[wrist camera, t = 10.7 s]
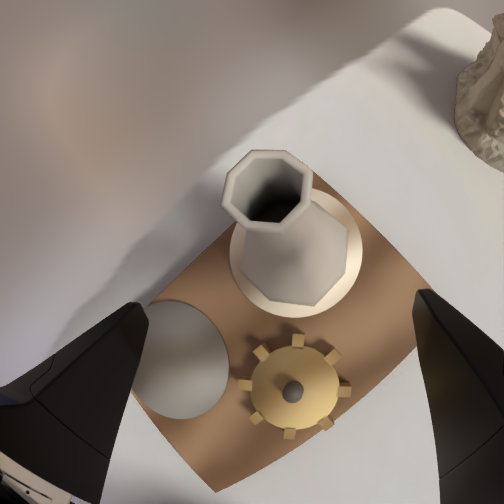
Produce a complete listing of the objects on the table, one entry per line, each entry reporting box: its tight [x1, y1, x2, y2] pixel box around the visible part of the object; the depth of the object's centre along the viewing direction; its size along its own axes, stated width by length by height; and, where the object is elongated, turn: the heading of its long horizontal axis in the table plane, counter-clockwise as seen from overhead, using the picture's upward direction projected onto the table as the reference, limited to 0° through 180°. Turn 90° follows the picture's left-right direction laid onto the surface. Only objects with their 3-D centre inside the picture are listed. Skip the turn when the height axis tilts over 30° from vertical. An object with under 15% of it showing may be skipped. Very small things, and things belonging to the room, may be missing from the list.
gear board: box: [131, 162, 436, 493], centre depth 18 cm, size 15×22×4 cm
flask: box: [221, 150, 349, 307], centre depth 14 cm, size 7×7×10 cm
